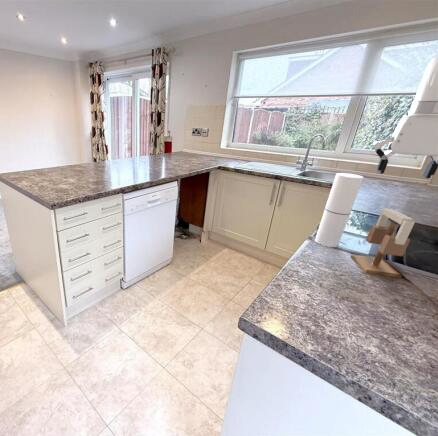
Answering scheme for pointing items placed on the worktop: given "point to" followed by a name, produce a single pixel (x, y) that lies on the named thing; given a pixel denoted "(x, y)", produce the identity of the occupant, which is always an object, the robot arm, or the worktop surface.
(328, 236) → the cylindrical container
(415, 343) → the worktop surface
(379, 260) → the stand
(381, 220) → the wooden bracket
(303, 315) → the worktop surface
